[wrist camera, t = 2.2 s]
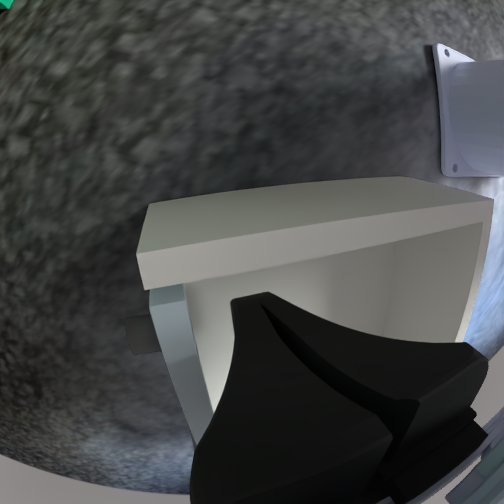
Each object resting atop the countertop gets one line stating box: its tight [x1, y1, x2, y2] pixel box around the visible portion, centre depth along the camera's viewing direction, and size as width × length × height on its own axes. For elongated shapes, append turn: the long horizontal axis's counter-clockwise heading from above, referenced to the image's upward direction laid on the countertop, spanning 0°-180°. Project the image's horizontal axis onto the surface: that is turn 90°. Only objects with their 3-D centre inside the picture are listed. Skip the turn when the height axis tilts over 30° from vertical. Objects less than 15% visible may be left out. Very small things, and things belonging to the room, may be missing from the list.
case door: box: [125, 283, 214, 445], centre depth 10 cm, size 2×10×5 cm, turn 5°
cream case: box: [136, 176, 494, 451], centre depth 12 cm, size 13×12×6 cm
